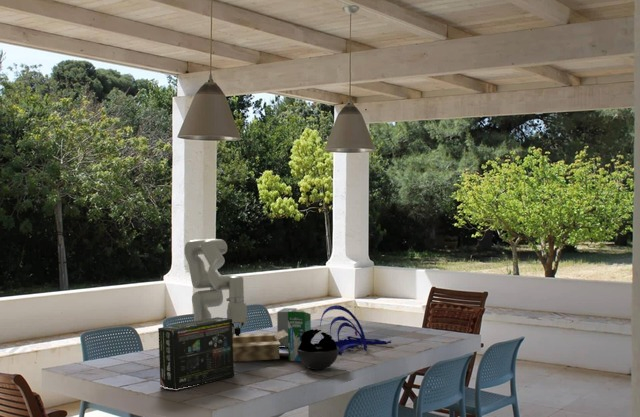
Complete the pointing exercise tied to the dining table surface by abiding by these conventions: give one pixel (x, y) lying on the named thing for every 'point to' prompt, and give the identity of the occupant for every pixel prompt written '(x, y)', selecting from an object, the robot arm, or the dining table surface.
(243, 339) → the carton
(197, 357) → the router box
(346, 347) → the sculpture
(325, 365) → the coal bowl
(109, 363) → the dining table surface
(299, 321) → the milk carton
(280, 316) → the hard drive box
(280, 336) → the right flap
